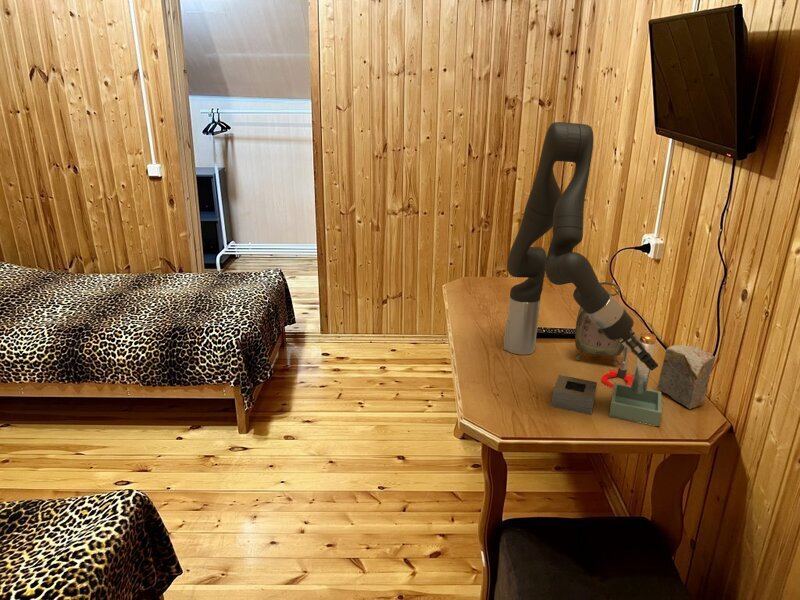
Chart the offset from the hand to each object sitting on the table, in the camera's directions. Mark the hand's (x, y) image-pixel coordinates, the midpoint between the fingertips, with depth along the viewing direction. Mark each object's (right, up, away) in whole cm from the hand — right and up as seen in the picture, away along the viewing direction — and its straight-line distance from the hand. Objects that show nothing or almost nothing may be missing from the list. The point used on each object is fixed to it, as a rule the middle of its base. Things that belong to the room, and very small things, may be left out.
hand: (651, 363), depth 143 cm
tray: (-2, -13, +5) cm, 14 cm away
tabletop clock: (-2, -3, +33) cm, 34 cm away
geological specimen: (+13, -11, +11) cm, 20 cm away
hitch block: (-17, -11, +8) cm, 22 cm away
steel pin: (-2, -7, +3) cm, 8 cm away
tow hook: (-1, -8, +20) cm, 21 cm away
